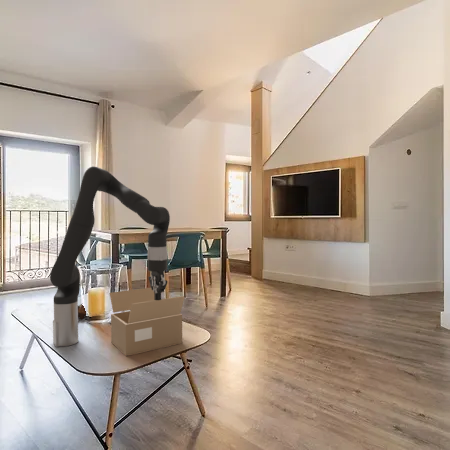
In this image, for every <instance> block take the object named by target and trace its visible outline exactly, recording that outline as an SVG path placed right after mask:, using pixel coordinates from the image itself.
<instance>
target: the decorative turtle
mask: <svg viewBox="0 0 450 450" xmlns="http://www.w3.org/2000/svg"><path fill="white" fill-rule="evenodd" d="M82 304H83V303H81V304H78V319H80V320H84V319H85V318H86V317H87V316H86V311H85V308H84V306H83V305H82Z"/></svg>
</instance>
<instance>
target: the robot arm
mask: <svg viewBox="0 0 450 450" xmlns="http://www.w3.org/2000/svg"><path fill="white" fill-rule="evenodd" d="M97 192H102V193H103V192H104V193H105V194H108V195H111V196H113V197H114V198H116V199H117V200H118V201H119V202H120V203H121V204H122V205H123V206H125V208H127V209H129V210H131V211H132V212H133V213H135V214H137V215H138V217H140V219H142V220H143V222H145V223H146V224H148V225H151V226H153V227H152V228H153V229H152V231H150V232H149V233H148V236H147V238H148V239H147V246H148V247H147V270H148V272H150V276H148V281H149V285H150V288H151V289H152V290H153V292H154V300H161V299H162V293H164V292H165V291H166V287H167V285H168V280H165V271H167V270H168V249H167V248H168V247H167V234H168V232H169V225H170V222H171V221H170V220H171V216H170V213H169V210H168V209H167V208H166V207H164V206H154V205H152V204H151V202H150V200H149V199H148V198H146V197H144V196H143V195H142V194H140V193H138V192H137V191H135V190H132V189H131V188H129V187H127V186H126V185H125V184H123V183H122V182H120V181H119V180H118V178H116V176H114V175H113V174H112V173H110V172H109V171H108V170H106V169H103V168H101V167H98V166H90V167H88V168H87V169H86V170H85V172H84V174H83V177H82V180H81V184H80V188H79V192H78V196H77V201H76V203H75V206H74V208H73V212H72V215H71V217H70V221H69V223H68V227H67V228H66V229H67V230H66V233H65V235H64V239H63V241H62V245H61V248H60V251H59V253H58V256H57V258H56V259H55V262H54V264H53V266H52V268H51V271H50V275H49V279H50V283H51V284H52V286H54V287H55V288H57V290H56V292H55V295H54V296H53V320H52V335H53V336H52V338H53V339H52V340H53V341H52V343H53V344H54V346H55V347H56V348H57V347H58V348H59V347H69V346H72V345H76V344H77V343H78V342H79V318H78V306H79V299H78V298H79V295H80V286H81V281H80V280H81V274H80V269H79V267H78V266H77V265H76V263H77V259H78V257H79V255H80V253H82V250H83V249H84V247H85V246H86V245H87V243H88V241H89V239H90V237H91V235H92V232H93V229H94V226H95V211H94V202H95V198H96V195H97Z"/></svg>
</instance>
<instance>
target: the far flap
mask: <svg viewBox="0 0 450 450" xmlns="http://www.w3.org/2000/svg"><path fill="white" fill-rule="evenodd" d="M109 297H110V302H111V307H112V308H111V309H112V310H113V313H114V312H121V311H125V312H127V311H130V308H131V304H133V303H139V302H146V301H153V300H154V292H153V290H152V289H151V287H146V288H137V289H129V290H122V291H121V290H120V291H113V292H109Z"/></svg>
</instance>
